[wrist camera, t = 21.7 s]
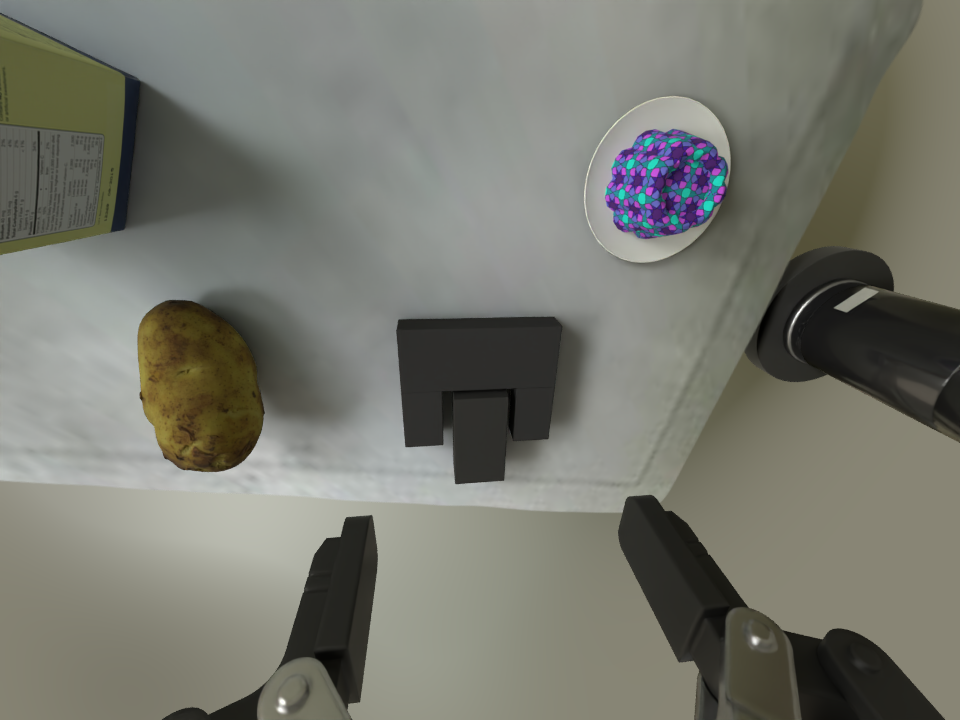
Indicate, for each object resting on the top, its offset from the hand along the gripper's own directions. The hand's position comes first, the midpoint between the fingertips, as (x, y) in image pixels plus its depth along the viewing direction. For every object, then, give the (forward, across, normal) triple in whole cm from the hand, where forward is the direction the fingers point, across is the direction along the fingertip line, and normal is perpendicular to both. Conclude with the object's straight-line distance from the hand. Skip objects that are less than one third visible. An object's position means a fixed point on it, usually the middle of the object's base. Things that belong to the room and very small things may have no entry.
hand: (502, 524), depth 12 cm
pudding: (+24, -16, -9) cm, 30 cm away
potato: (+24, +20, +6) cm, 32 cm away
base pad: (+24, -2, +8) cm, 25 cm away
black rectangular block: (+24, -2, +14) cm, 28 cm away
